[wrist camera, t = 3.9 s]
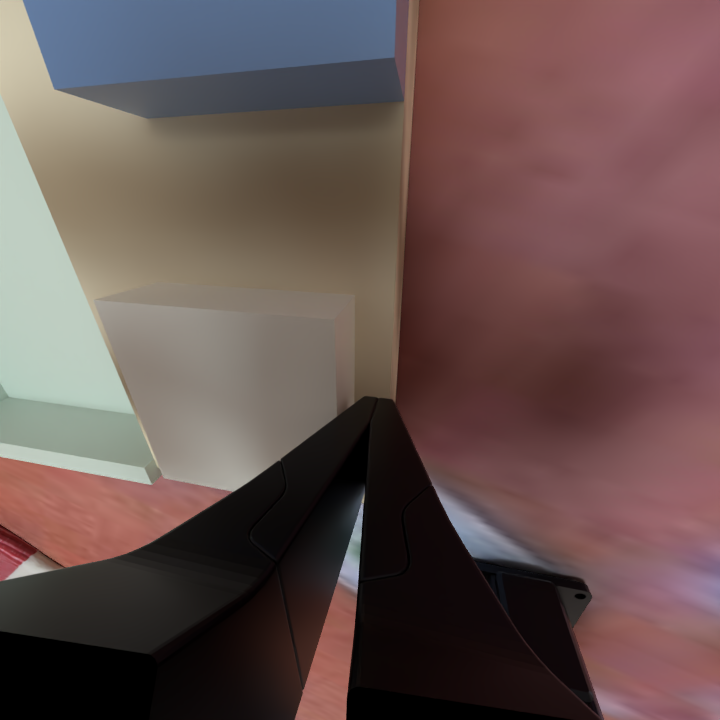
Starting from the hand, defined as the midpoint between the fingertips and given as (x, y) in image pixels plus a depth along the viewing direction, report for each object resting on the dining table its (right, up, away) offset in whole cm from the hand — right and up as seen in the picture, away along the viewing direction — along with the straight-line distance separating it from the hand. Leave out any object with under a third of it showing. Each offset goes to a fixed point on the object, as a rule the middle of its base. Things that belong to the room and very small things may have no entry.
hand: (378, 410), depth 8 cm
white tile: (-4, +1, +1) cm, 4 cm away
